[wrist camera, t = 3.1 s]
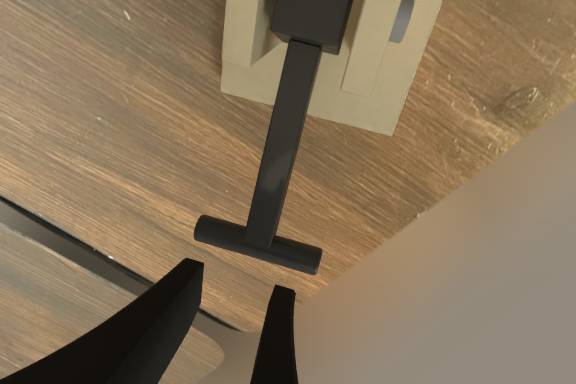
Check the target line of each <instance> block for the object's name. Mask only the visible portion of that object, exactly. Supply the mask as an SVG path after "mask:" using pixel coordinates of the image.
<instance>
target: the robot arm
mask: <svg viewBox="0 0 576 384" xmlns="http://www.w3.org/2000/svg"><path fill="white" fill-rule="evenodd" d="M203 269H204V263H203V262H199V261H196V260H193V259H189V258H185V259H183V260H182V261H181V262H180V263H179V264H178V265H177V266H176V267H174V268H173V269H172V270H171V271H170V272H169V273H168V274H166V275H165V276H164V277H163V278H162V279H160V280H159V281H158V282H157V283H156V284H154V285H153V286H152V287H151V288H149V289H148V290H147V291H145V292H144V293H143V294H142V295H140V296H139V297H138V298H136V299H135V300H134V301H133V302H131V303H130V304H129V305H127V306H126V307H124V308H123V309H122V310H120V311H119V312H117V313H116V314H114V315H113V316H112V317H110V318H109V319H107V320H106V321H104V322H103V323H101V324H100V325H98V326H97V327H95V328H94V329H92V330H91V331H89V332H88V333H86V334H84V335H83V336H81V337H79V338H78V339H76V340H75V341H73V342H71V343H69V344H68V345H66V346H64V347H62V348H61V349H59V350H57V351H55V352H54V353H52V354H50V355H48V356H46V357H45V358H43V359H41V360H39V361H37V362H35V363H33V364H31V365H29V366H27V367H25V368H23V369H21V370H19V371H17V372H15V373H13V374H11V375H9V376H7V377H5V378H3V379H1V380H0V384H158V382H159V380H160V379H161V377H162V375H163V373H164V372H165V370H166V368H167V367H168V365H169V363H170V362H171V360H172V358H173V356H174V355H175V353H176V351H177V350H178V348H179V346H180V344H181V343H182V341H183V339H184V338H185V336H186V334H187V332H188V330H189V328H190V326H191V324H192V322H193V320H194V317H195V315H196V313H197V310H198V308H199V306H200V304H201V294H202V282H203ZM295 295H296V293H295V291H294V290H292V289H289V288H286V287H283V286H279V285H276V284H275V287H274V290H273V293H272V295H271V298H270V301H269V304H268V308H267V313H266V317H265V321H264V325H263V329H262V333H261V338H260V342H259V346H258V350H257V355H256V359H255V364H254V369H253V373H252V377H251V382H250V384H298V378H297V370H296V361H295V348H294V332H293V330H294V329H293V317H294V316H293V315H294V302H295Z"/></svg>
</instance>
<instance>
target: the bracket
mask: <svg viewBox="0 0 576 384" xmlns="http://www.w3.org/2000/svg"><path fill="white" fill-rule="evenodd" d="M275 2H276V0H226V7H225V20H224V32H223V44H222V56H221V60H222V61H223V62H222V74H221V86H220V91H221V92H223V93H227V94H231V95H235V96H239V97H243V98H246V99H250V100H254V101H258V102H262V103H266V104H269V105H273V106H274V104H275V99H276V95H277V91H278V86H279V82H280V78H281V73H282V69H283V65H284V60H285V56H286V51H287V47H288V43H284V42H282V41H281V40H280V39H279V38H278V37H277V36H276V35H275V34H274V33H273V32H272V31H271V30H270V26H271V21H272V16H273V12H274V7H275ZM442 2H443V0H353V4H352V7H351V11H350V15H349V19H348V22H347V26H346V30H345V34H344V37H343V41H342V45H341V49H340V52H339V55H333V54H329V53H325V52H322V56H321V60H320V64H319V68H318V71H317V75H316V79H315V83H314V87H313V91H312V95H311V99H310V103H309V107H308V111H307V114H308V115H311V116H315V117H319V118H323V119H327V120H331V121H334V122H338V123H342V124H346V125H350V126H354V127H357V128H361V129H365V130H369V131H373V132H376V133H380V134H384V135H388V136H392V134H393V132H394V129H395V127H396V124H397V121H398V119H399V116H400V113H401V111H402V108H403V105H404V103H405V100H406V98H407V95H408V92H409V90H410V87H411V84H412V82H413V79H414V76H415V74H416V71H417V68H418V66H419V63H420V61H421V58H422V55H423V53H424V50H425V47H426V45H427V42H428V39H429V37H430V34H431V32H432V29H433V26H434V24H435V21H436V18H437V16H438V13H439V10H440V8H441V5H442Z"/></svg>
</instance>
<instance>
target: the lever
mask: <svg viewBox="0 0 576 384" xmlns="http://www.w3.org/2000/svg"><path fill="white" fill-rule="evenodd" d="M352 4H353V0H276V2H275V7H274V12H273V16H272V21H271V26H270V30H271V31H272V32H273V33H274V34H275V35H276V36H277V37H278V38H279V39H280V40H281V41H282V42H284V43H288V47H287V51H286V56H285V60H284V65H283V69H282V73H281V78H280V82H279V86H278V91H277V95H276V99H275V104H274V108H273V112H272V117H271V121H270V125H269V130H268V134H267V138H266V143H265V147H264V152H263V156H262V160H261V165H260V169H259V173H258V178H257V182H256V186H255V191H254V195H253V199H252V204H251V208H250V212H249V217H248V221H247V225H246V226H242V225H239V224H235V223H232V222H229V221H225V220H222V219H218V218H215V217H211V216H208V215H201V216H200V218H199V219H198V221H197V223H196V226H195V230H194V239H195V240H196V241H199V242H203V243H206V244H210V245H213V246H216V247H220V248H223V249H226V250H230V251H233V252H237V253H240V254H243V255H247V256H250V257H253V258H257V259H260V260H264V261H267V262H270V263H274V264H277V265H281V266H284V267H287V268H291V269H294V270H297V271H301V272H304V273H308V274H311V275H316V273H317V270H318V267H319V264H320V260H321V256H322V249H321V248H318V247H315V246H311V245H308V244H305V243H301V242H298V241H294V240H291V239H287V238H284V237H280V236H277V235H276V232H277V228H278V224H279V220H280V216H281V212H282V208H283V205H284V201H285V197H286V193H287V189H288V185H289V181H290V177H291V173H292V169H293V165H294V161H295V158H296V154H297V150H298V146H299V142H300V138H301V134H302V130H303V126H304V122H305V118H306V115H307V111H308V107H309V103H310V99H311V95H312V91H313V87H314V83H315V79H316V75H317V71H318V68H319V64H320V60H321V56H322V52H325V53H329V54H333V55H339V52H340V49H341V45H342V41H343V37H344V34H345V30H346V26H347V22H348V19H349V15H350V11H351V7H352Z"/></svg>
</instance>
